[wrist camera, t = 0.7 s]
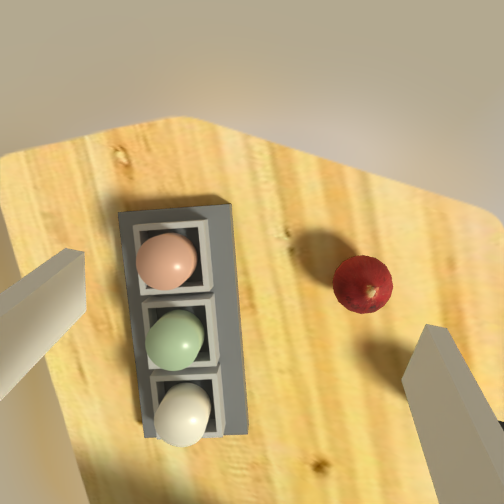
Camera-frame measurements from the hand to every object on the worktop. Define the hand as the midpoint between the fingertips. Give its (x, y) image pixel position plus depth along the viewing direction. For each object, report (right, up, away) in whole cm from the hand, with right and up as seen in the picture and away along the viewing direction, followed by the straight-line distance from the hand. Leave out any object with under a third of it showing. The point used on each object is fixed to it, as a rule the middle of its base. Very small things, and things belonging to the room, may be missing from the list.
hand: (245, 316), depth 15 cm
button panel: (-7, -5, +29) cm, 31 cm away
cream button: (-7, -14, +26) cm, 30 cm away
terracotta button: (-8, +2, +24) cm, 25 cm away
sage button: (-7, -6, +25) cm, 27 cm away
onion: (+12, 0, +28) cm, 30 cm away
